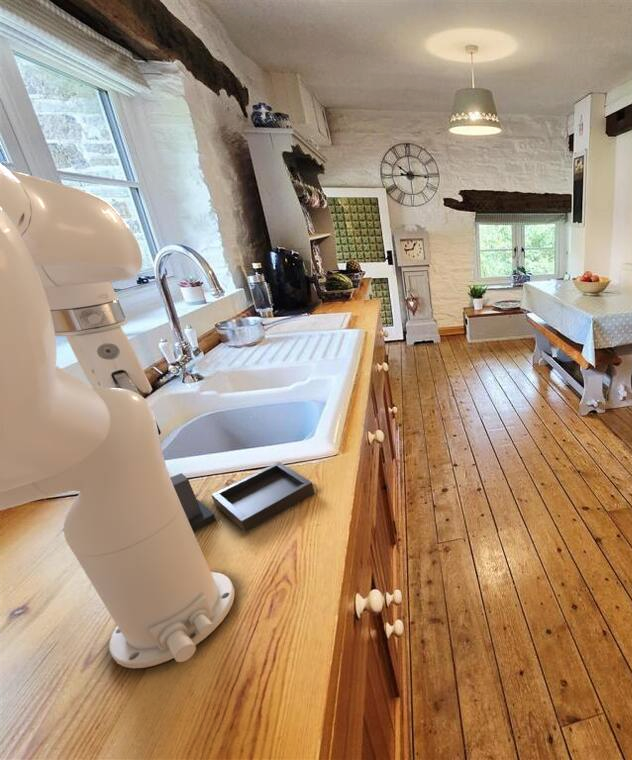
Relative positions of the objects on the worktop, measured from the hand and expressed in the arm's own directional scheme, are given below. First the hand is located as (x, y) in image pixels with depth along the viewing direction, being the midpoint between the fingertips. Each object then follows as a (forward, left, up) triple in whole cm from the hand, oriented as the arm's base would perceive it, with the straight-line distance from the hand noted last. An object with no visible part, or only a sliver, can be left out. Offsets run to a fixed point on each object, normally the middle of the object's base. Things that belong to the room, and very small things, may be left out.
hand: (136, 429), depth 61 cm
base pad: (-6, -11, -18) cm, 22 cm away
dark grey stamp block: (-1, 0, -18) cm, 18 cm away
